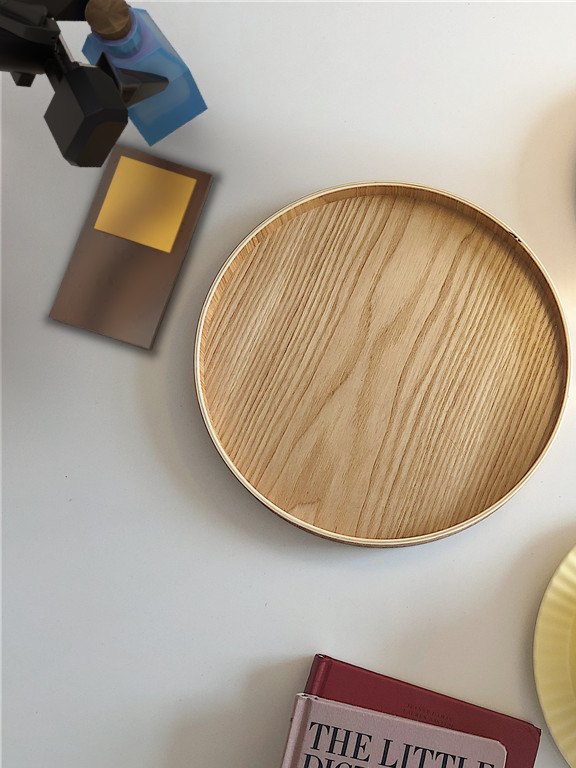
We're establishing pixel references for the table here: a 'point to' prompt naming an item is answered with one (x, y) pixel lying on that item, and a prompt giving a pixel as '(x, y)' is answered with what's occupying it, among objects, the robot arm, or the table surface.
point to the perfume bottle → (143, 65)
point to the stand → (131, 247)
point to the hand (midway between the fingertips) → (148, 48)
